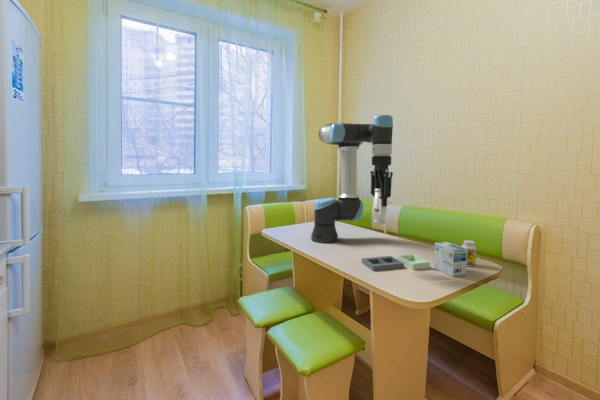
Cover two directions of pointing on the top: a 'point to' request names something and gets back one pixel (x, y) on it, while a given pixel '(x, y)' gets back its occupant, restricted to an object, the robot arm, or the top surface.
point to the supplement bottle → (470, 252)
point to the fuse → (377, 217)
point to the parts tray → (413, 261)
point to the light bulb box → (450, 258)
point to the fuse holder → (382, 263)
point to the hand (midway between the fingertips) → (379, 213)
